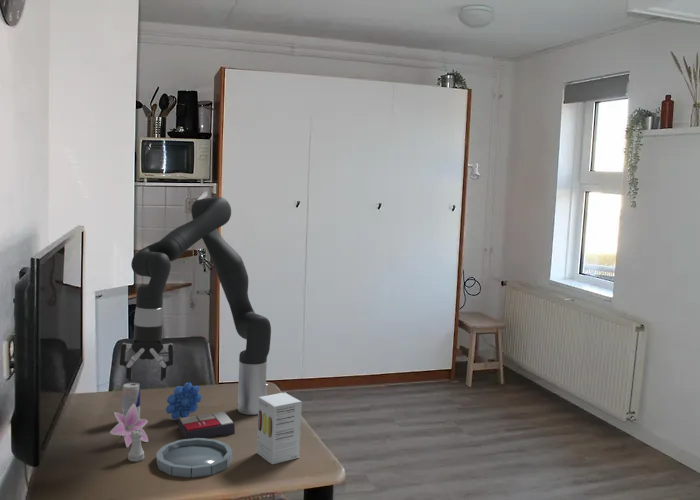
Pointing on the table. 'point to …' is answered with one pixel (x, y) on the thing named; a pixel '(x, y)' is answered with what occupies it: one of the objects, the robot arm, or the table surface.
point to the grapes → (183, 401)
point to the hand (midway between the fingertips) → (145, 380)
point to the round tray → (194, 457)
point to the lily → (129, 425)
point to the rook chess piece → (136, 447)
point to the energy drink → (131, 397)
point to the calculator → (206, 425)
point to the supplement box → (278, 427)
